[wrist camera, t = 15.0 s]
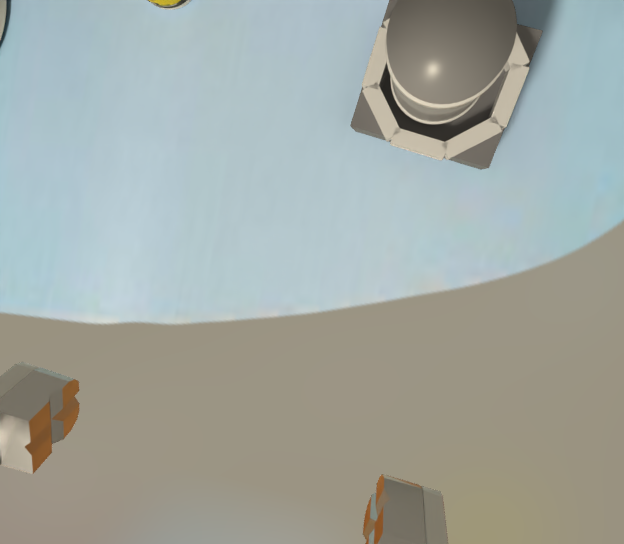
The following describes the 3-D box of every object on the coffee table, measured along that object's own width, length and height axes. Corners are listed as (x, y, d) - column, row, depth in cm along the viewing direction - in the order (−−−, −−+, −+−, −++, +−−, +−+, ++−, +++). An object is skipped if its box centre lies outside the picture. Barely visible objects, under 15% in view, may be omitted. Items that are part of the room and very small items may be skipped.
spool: (379, 111, 28) (366, 83, 20) (409, 20, 27) (410, -54, 18) (462, 137, 28) (487, 118, 19) (498, 45, 26) (542, -20, 18)
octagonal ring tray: (353, 136, 32) (345, 130, 28) (395, 3, 30) (393, -25, 26) (478, 175, 31) (489, 173, 27) (531, 39, 29) (552, 15, 25)
